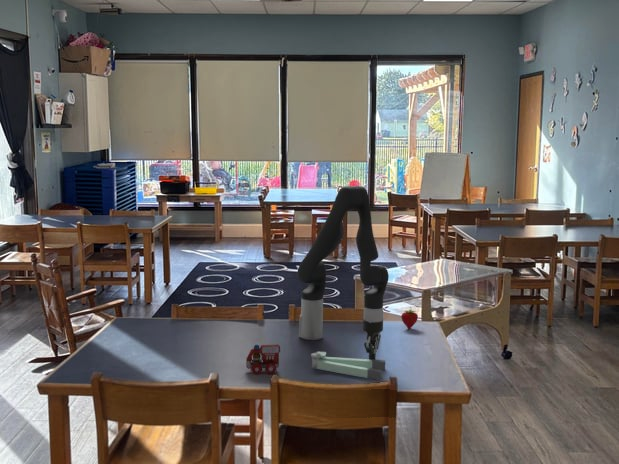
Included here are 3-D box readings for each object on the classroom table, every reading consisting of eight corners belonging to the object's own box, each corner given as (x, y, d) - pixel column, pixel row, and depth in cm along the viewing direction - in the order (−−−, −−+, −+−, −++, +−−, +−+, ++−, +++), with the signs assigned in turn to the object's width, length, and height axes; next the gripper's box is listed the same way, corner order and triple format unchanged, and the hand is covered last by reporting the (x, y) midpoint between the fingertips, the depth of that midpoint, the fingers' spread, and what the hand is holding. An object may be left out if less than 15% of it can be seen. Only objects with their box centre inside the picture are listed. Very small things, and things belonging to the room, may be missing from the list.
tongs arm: (310, 368, 264) (310, 355, 263) (312, 363, 269) (312, 351, 268) (384, 373, 260) (385, 360, 259) (385, 368, 265) (385, 356, 264)
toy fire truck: (246, 367, 264) (246, 341, 262) (279, 367, 265) (279, 341, 263) (246, 374, 257) (246, 347, 255) (280, 374, 258) (280, 347, 256)
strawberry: (399, 326, 317) (400, 305, 316) (415, 326, 318) (416, 305, 316) (402, 330, 312) (403, 308, 310) (418, 330, 312) (420, 308, 311)
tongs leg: (310, 368, 265) (310, 357, 264) (313, 365, 267) (313, 355, 267) (380, 380, 254) (380, 370, 253) (382, 378, 256) (382, 367, 256)
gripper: (369, 312, 272) (368, 355, 275) (357, 321, 260) (356, 366, 263) (388, 314, 269) (386, 358, 272) (377, 324, 257) (375, 369, 260)
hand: (372, 362), depth 268 cm, fingers closed
